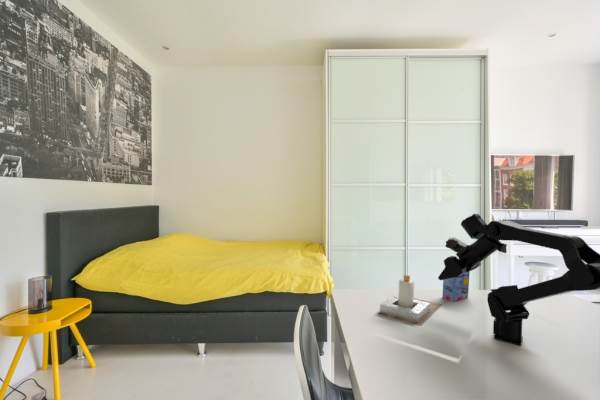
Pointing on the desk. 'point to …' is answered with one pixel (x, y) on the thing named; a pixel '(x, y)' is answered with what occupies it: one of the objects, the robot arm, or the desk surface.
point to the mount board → (433, 309)
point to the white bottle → (406, 292)
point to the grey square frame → (405, 309)
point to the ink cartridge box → (456, 287)
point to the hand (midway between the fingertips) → (444, 276)
